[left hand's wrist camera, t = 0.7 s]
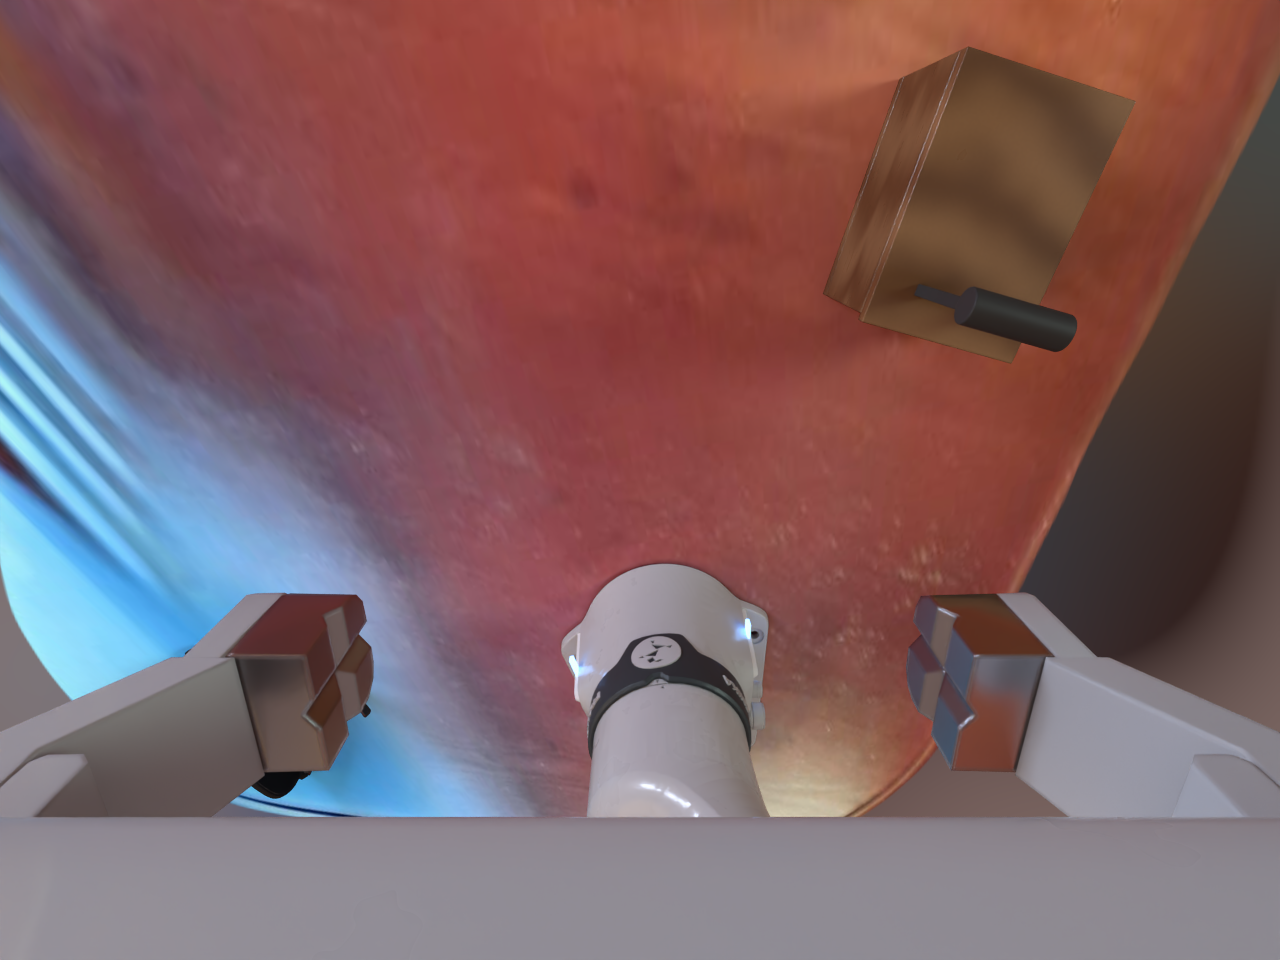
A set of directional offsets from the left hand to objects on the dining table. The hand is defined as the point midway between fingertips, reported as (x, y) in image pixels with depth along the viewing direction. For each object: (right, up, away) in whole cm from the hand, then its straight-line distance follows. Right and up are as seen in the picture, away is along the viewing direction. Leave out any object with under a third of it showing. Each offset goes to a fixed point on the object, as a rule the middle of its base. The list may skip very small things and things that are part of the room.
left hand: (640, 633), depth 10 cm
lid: (+20, +18, +30) cm, 41 cm away
